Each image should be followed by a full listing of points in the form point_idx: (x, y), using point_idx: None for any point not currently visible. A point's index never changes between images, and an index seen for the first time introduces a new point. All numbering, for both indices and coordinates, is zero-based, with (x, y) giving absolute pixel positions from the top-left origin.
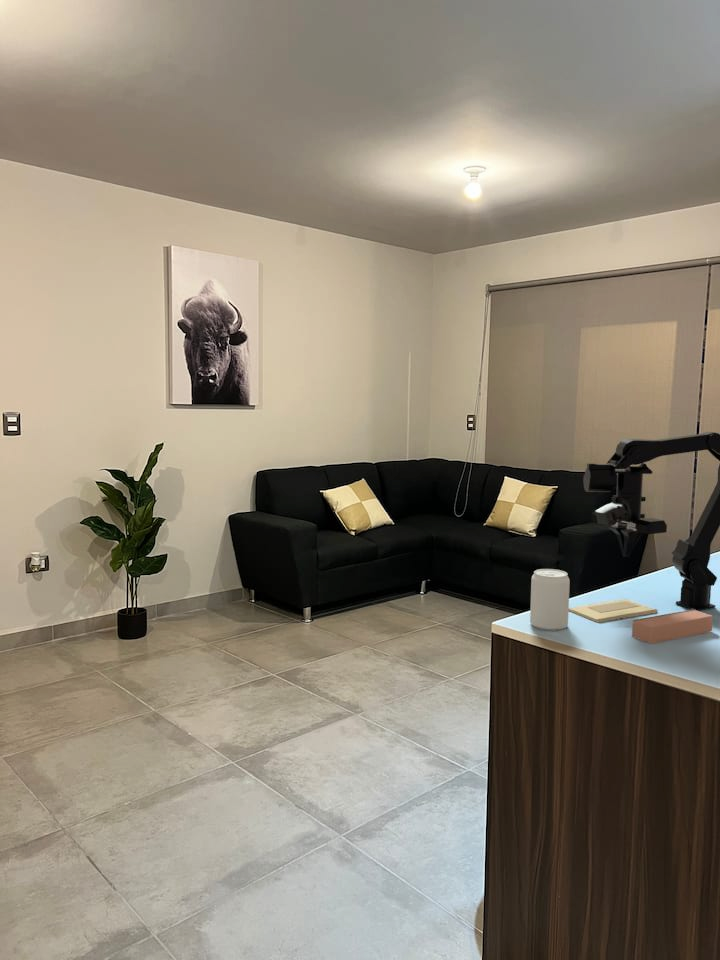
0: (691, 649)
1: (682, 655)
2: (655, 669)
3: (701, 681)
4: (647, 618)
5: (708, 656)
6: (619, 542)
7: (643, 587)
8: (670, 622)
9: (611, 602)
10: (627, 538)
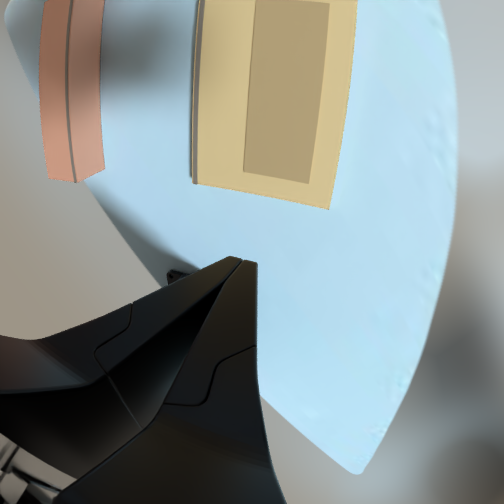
0: None
1: (35, 28)
2: None
3: (6, 7)
4: (68, 21)
5: (23, 64)
6: (244, 342)
7: (370, 358)
8: (42, 57)
9: (330, 129)
10: (72, 339)
